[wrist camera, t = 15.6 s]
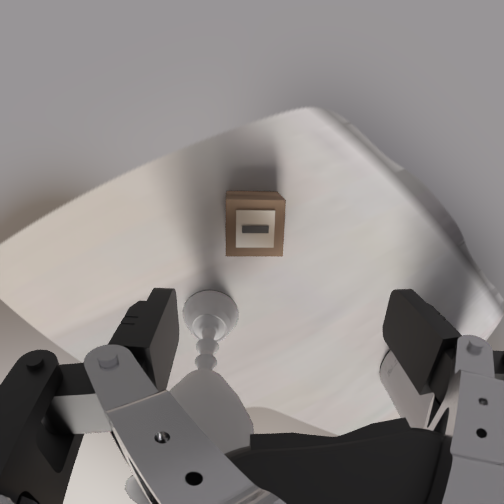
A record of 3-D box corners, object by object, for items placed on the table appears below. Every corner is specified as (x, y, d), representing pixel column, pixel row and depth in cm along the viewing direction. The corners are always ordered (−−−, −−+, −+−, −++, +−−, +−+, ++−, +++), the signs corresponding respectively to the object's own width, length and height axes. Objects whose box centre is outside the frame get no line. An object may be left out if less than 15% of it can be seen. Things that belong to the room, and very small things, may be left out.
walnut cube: (275, 239, 26) (283, 257, 22) (226, 239, 26) (225, 257, 22) (277, 191, 25) (286, 201, 21) (226, 190, 25) (225, 200, 21)
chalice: (209, 263, 26) (184, 448, 10) (265, 312, 28) (301, 494, 11) (157, 316, 28) (101, 489, 11) (211, 358, 30) (203, 529, 13)
